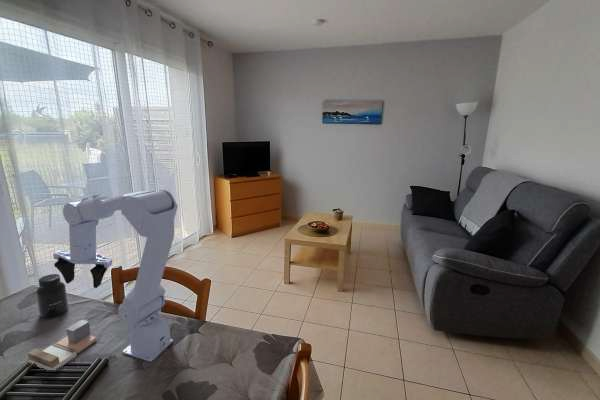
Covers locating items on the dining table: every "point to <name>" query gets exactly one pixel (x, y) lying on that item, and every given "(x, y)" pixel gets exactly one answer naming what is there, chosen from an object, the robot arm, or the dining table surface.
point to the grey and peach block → (77, 337)
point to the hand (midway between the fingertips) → (83, 283)
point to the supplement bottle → (51, 296)
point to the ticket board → (59, 354)
